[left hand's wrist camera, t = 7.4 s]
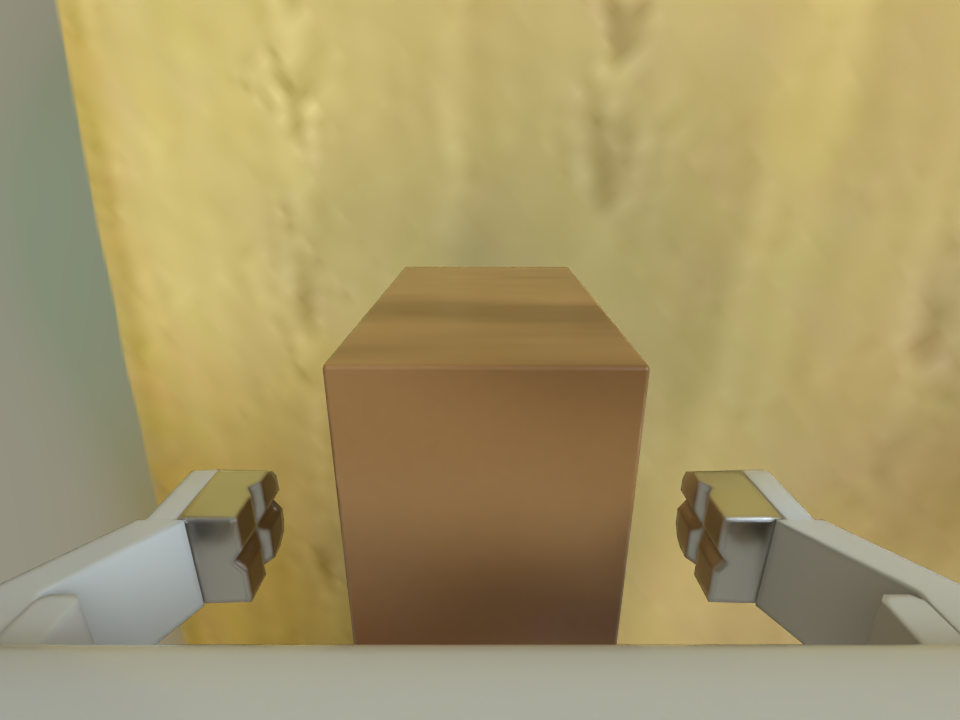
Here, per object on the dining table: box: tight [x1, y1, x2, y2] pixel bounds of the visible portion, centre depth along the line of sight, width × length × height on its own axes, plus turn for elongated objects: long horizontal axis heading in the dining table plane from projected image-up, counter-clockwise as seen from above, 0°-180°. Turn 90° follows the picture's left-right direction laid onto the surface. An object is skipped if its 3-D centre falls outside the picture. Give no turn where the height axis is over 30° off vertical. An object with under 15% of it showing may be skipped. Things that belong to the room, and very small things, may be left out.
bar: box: [323, 267, 650, 645], centre depth 17 cm, size 24×6×10 cm, turn 0°
